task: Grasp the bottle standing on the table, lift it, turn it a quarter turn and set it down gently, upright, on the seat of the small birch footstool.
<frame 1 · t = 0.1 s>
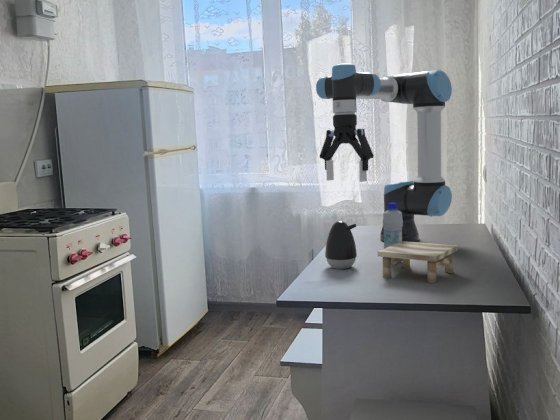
hand: (346, 180, 196), 28 cm above the table, fingers open, 13 cm apart
pump dispenser: (341, 268, 198), on the table
bottle: (393, 262, 203), on the table
footstool: (418, 274, 184), on the table
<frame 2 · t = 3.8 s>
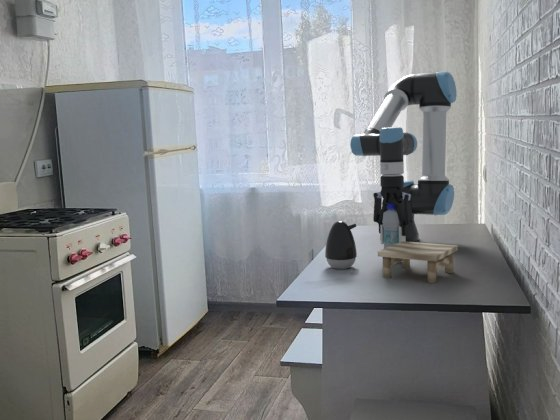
hand: (393, 244, 202), 6 cm above the table, fingers closed on bottle, 6 cm apart
bottle: (393, 262, 203), on the table, touching gripper
everything else where it was.
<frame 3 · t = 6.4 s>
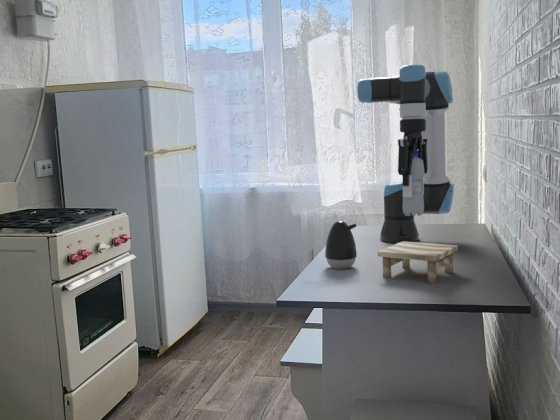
hand: (413, 195, 183), 24 cm above the table, fingers closed on bottle, 6 cm apart
bottle: (413, 216, 184), point 18 cm above the table, touching gripper
everything else where it was.
when the fingers open (15 cm above the table, at t = 9.3 s): bottle stays where it is, resting on footstool.
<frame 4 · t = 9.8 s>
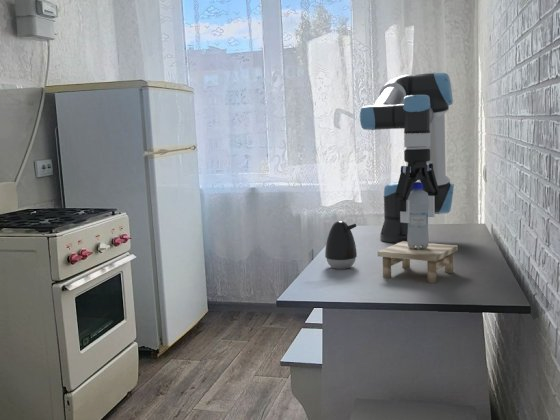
hand: (417, 219, 182), 17 cm above the table, fingers open, 13 cm apart
bottle: (418, 248, 183), point 8 cm above the table, touching footstool
everything else where it was.
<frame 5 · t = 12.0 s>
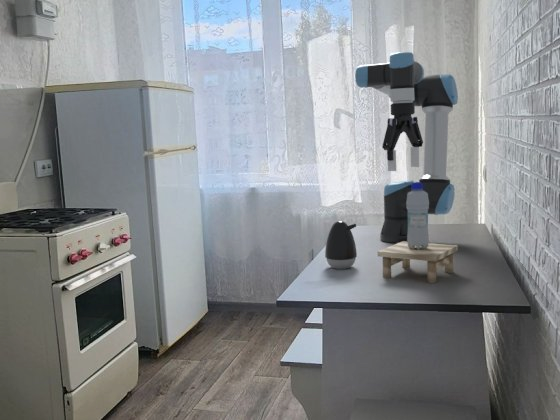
hand: (403, 168, 198), 31 cm above the table, fingers open, 13 cm apart
nothing on the table moved.
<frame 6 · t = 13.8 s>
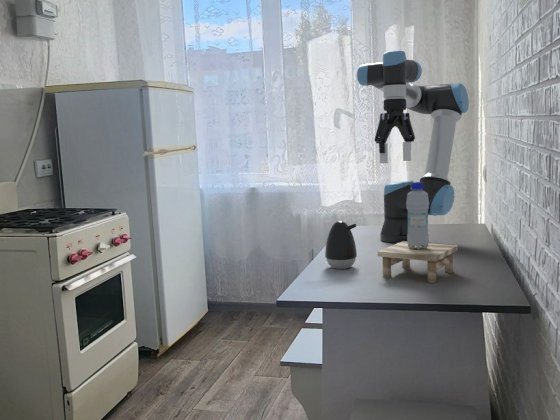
hand: (395, 162, 207), 33 cm above the table, fingers open, 13 cm apart
nothing on the table moved.
at the end: bottle inside the target area on the footstool (0.1 cm from its centre), point 7.8 cm above the footstool's base; bottle tilted 0°; bottle touching footstool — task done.
